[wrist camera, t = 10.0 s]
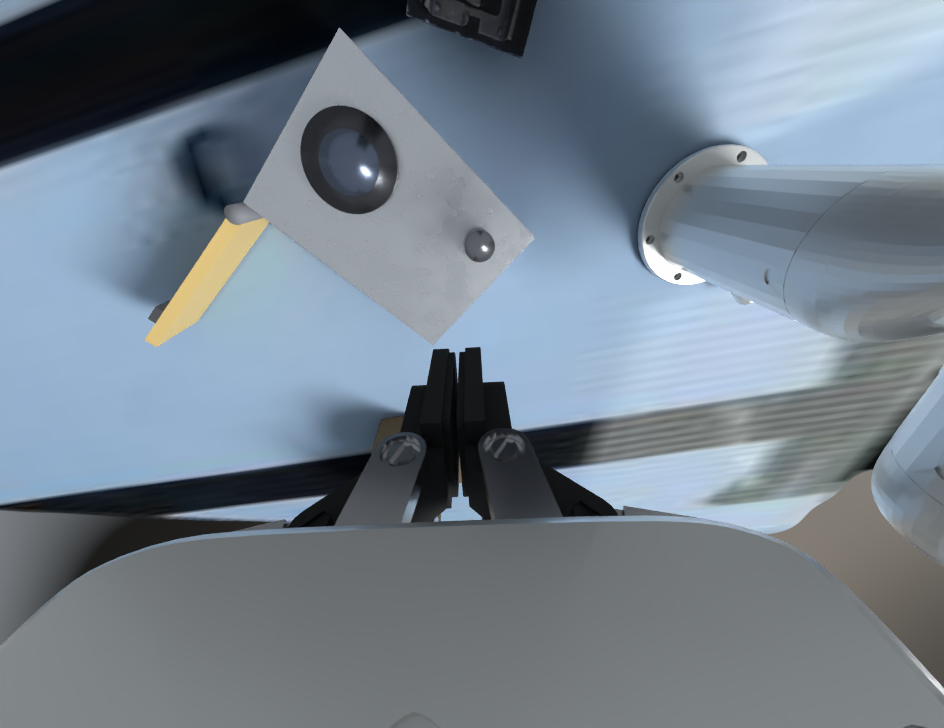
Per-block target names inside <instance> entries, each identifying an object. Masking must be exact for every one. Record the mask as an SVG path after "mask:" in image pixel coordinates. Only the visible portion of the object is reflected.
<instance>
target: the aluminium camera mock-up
mask: <svg viewBox="0 0 944 728" xmlns="http://www.w3.org/2000/svg"><path fill="white" fill-rule="evenodd" d="M243 203H245V204H246V205H247V206H249V207H250V208H251V209H253V210H254V211H255V212H257V213H258V214H259V215H261V216H262V217H263V218H265V219H266V220H267V221H269V222H270V223H271V224H273V225H274V226H275V227H277V228H278V229H279V230H281V231H282V232H283V233H285V234H286V235H287V236H289V237H290V238H291V239H293V240H294V241H295V242H297V243H298V244H299V245H301V246H302V247H303V248H305V249H306V250H307V251H309V252H310V253H311V254H313V255H314V256H315V257H317V258H318V259H319V260H321V261H322V262H323V263H325V264H326V265H327V266H328V267H330V268H331V269H332V270H334V271H335V272H336V273H338V274H339V275H340V276H342V277H343V278H344V279H346V280H347V281H348V282H350V283H351V284H352V285H354V286H355V287H356V288H358V289H359V290H360V291H362V292H363V293H364V294H366V295H367V296H368V297H370V298H371V299H372V300H374V301H375V302H376V303H378V304H379V305H380V306H382V307H383V308H384V309H386V310H387V311H388V312H390V313H391V314H392V315H394V316H395V317H396V318H398V319H399V320H400V321H402V322H403V323H404V324H406V325H407V326H408V327H410V328H411V329H412V330H414V331H415V332H416V333H418V334H419V335H420V336H422V337H423V338H424V339H426V340H427V341H428V342H430V343H431V344H432V345H434V343H435V342H436V341H437V340H438V339H439V338H440V337H441V336H442V335H443V334H444V333H445V332H446V331H447V330H448V329H449V328H450V327H451V326H452V325H453V324H454V322H455V321H456V320H457V319H458V318H459V317H460V316H461V315H462V314H463V313H464V312H465V311H466V310H467V309H468V308H469V307H470V306H471V305H472V304H473V302H474V301H475V300H476V299H477V298H478V297H479V296H480V295H481V294H482V293H483V292H484V291H485V290H486V289H487V288H488V287H489V286H490V285H491V284H492V283H493V281H494V280H495V279H496V278H497V277H498V276H499V275H500V274H501V273H502V272H503V271H504V270H505V269H506V268H507V267H508V266H509V265H510V264H511V263H512V261H513V260H514V259H515V258H516V257H517V256H518V255H519V254H520V253H521V252H522V251H523V250H524V249H525V248H526V247H527V246H528V245H529V244H530V243H531V242H532V240H533V239H534V238H535V236H534V235H533V234H532V233H531V232H530V231H529V230H528V229H527V228H526V227H525V226H524V225H523V224H522V223H521V221H520V220H519V219H518V218H517V217H516V216H515V215H514V214H513V213H512V212H511V211H510V210H509V209H508V208H507V206H506V205H505V204H504V203H503V202H502V201H501V200H500V199H499V198H498V197H497V196H496V195H495V194H494V193H493V191H492V190H491V189H490V188H489V187H488V186H487V185H486V184H485V183H484V182H483V181H482V180H481V179H480V178H479V176H478V175H477V174H476V173H475V172H474V171H473V170H472V169H471V168H470V167H469V166H468V165H467V164H466V163H465V162H464V160H463V159H462V158H461V157H460V156H459V155H458V154H457V153H456V152H455V151H454V150H453V149H452V148H451V147H450V145H449V144H448V143H447V142H446V141H445V140H444V139H443V138H442V137H441V136H440V135H439V134H438V133H437V132H436V130H435V129H434V128H433V127H432V126H431V125H430V124H429V123H428V122H427V121H426V120H425V119H424V118H423V117H422V115H421V114H420V113H419V112H418V111H417V110H416V109H415V108H414V107H413V106H412V105H411V104H410V103H409V102H408V100H407V99H406V98H405V97H404V96H403V95H402V94H401V93H400V92H399V91H398V90H397V89H396V88H395V87H394V85H393V84H392V83H391V82H390V81H389V80H388V79H387V78H386V77H385V76H384V75H383V74H382V73H381V72H380V70H379V69H378V68H377V67H376V66H375V65H374V64H373V63H372V62H371V61H370V60H369V59H368V58H367V57H366V55H365V54H364V53H363V52H362V51H361V50H360V49H359V48H358V47H357V46H356V45H355V44H354V43H353V42H352V40H351V39H350V38H349V37H348V36H347V35H346V34H345V33H344V32H343V31H342V30H341V29H340V28H339V29H338V31H337V33H336V34H335V36H334V38H333V40H332V42H331V43H330V45H329V47H328V49H327V51H326V53H325V54H324V56H323V58H322V60H321V62H320V63H319V65H318V67H317V69H316V71H315V73H314V74H313V76H312V78H311V80H310V82H309V83H308V85H307V87H306V89H305V91H304V93H303V94H302V96H301V98H300V100H299V102H298V103H297V105H296V107H295V109H294V111H293V113H292V114H291V116H290V118H289V120H288V122H287V123H286V125H285V127H284V129H283V131H282V133H281V134H280V136H279V138H278V140H277V142H276V143H275V145H274V147H273V149H272V151H271V153H270V154H269V156H268V158H267V160H266V162H265V163H264V165H263V167H262V169H261V171H260V173H259V174H258V176H257V178H256V180H255V182H254V183H253V185H252V187H251V189H250V191H249V193H248V194H247V196H246V198H245V200H244V202H243Z"/></svg>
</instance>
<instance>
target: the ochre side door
mask: <svg viewBox="0 0 944 728" xmlns="http://www.w3.org/2000/svg"><path fill="white" fill-rule="evenodd" d="M224 215H225V217H226V219H225V220H224V222H223V223H222V225H221V226H220V228H219V229H218V231H217V232H216V234H215V235H214V237H213V238H212V240H211V241H210V243H209V244H208V246H207V247H206V249H205V250H204V252H203V253H202V255H201V256H200V258H199V259H198V261H197V262H196V264H195V265H194V267H193V268H192V270H191V271H190V273H189V274H188V276H187V277H186V279H185V280H184V282H183V283H182V285H181V286H180V288H179V289H178V291H177V292H176V294H175V295H174V297H173V298H172V299H171V300H169V301H167V302H165V303H163V304H160V305H158V306H156V307H155V309H154V310H153V312H152V313H151V315H150V316H149V318H148V319H150V320H151V321H153V322H154V323H156V324H155V325H154V327H153V328H152V330H151V331H150V333H149V334H148V336H147V337H146V339H145V341H147V342H149V343H150V344H152V345H154V346H156V347H157V346H159V345H161V344H162V343H164V342H165V341H167V340H169V339H170V338H172V337H173V336H175V335H177V334H178V333H180V332H181V331H183V330H185V329H186V328H188V327H189V326H191V325H193V324H194V323H196V322H197V321H198V320H199V319H200V317H201V316H202V314H203V313H204V312H205V310H206V309H207V308H208V306H209V305H210V303H211V302H212V301H213V299H214V298H215V297H216V295H217V294H218V292H219V291H220V290H221V288H222V287H223V286H224V284H225V283H226V281H227V280H228V279H229V277H230V276H231V274H232V273H233V272H234V270H235V269H236V268H237V266H238V265H239V263H240V262H241V261H242V259H243V258H244V257H245V255H246V254H247V252H248V251H249V250H250V248H251V247H252V246H253V244H254V243H255V241H256V240H257V239H258V237H259V236H260V234H261V233H262V232H263V230H264V229H265V228H266V226H267V225H268V223H269V221H267V220H266V219H265V218H263V217H262V216H261V215H259V214H258V213H257V212H255V211H254V210H253V209H251V208H250V207H249V206H247V205H246V204H245V203H243V202H241V203H235V204H230V205H227V206H226V207H225V208H224Z"/></svg>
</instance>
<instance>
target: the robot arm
mask: <svg viewBox="0 0 944 728" xmlns="http://www.w3.org/2000/svg"><path fill="white" fill-rule="evenodd" d="M675 175H676V177H675ZM674 177H675V179H674ZM647 237H648V238H647ZM637 238H638V248H639V252H640V255H641V258H642V260H643V262H644V264H645V265H646V267H647V268H648V269H649V270H650V271H651V272H652V273H653V274H654V275H656V276H657V277H659V278H661V279H662V280H665V281H667V282H670V283H674V284H679V285H689V284H696V283H701V282H704V281H707V282H709V283H711V284H714V285H716V286H718V287H720V288H722V289H725V290H727V291H729V292H731V294H732V295H733V297H734V298H735V299H736V301H737V302H738V303H739V304H741V305H746V304H749V303H752V302H754V303H756V304H758V305H760V306H762V307H765V308H767V309H769V310H771V311H774V312H776V313H778V314H780V315H782V316H785V317H787V318H789V319H791V320H794V321H796V322H798V323H800V324H802V325H805V326H807V327H809V328H812V329H814V330H816V331H818V332H821V333H823V334H826V335H829V336H832V337H836V338H840V339H844V340H851V341H860V342H886V341H897V340H905V339H912V338H918V337H924V336H929V335H935V334H940V333H944V164H918V165H769V164H768V163H767V161H766V160H765V159H764V157H763V156H762V155H760V154H759V153H758V152H757V151H755V150H754V149H751V148H749V147H746V146H744V145H735V144H725V145H716V146H712V147H708V148H704V149H702V150H699V151H697V152H695V153H693V154H691V155H689V156H688V157H686V158H684V159H683V160H681V161H680V162H678V163H677V164H676V165H675V166H674V167H673V168H672V169H671V170H669V171H668V172H667V173H666V174H665V175H664V177H663V178H662V179H661V180H660V181H659V183H658V184H657V185H656V186H655V188H654V190H653V191H652V193H651V194H650V196H649V198H648V200H647V202H646V204H645V206H644V209H643V211H642V214H641V218H640V222H639V227H638V237H637ZM646 238H647V240H646ZM459 456H460V467H461V477H462V488H463V497H467V496H469V506H470V507H471V508H472V509H473V510H474V511H476V512H477V513H478V514H479V515H480V516H482V520H468V521H441V522H438V515H440V514H441V513H442V512H443V511H444V510H445V509H446V508H451V504H452V497H458V487H459ZM871 487H872V493H873V497H874V499H875V502H876V504H877V506H878V508H879V510H880V511H881V513H882V514H883V516H884V517H885V518H886V519H887V520H888V522H889V523H890V524H891V525H892V526H893V527H894V528H895V529H896V530H897V531H898V532H899V533H900V534H901V535H902V536H903V537H904V538H905V539H906V540H908V541H909V542H910V543H911V544H912V545H914V546H915V547H916V548H917V549H919V550H920V551H922V552H923V553H924V554H926V555H927V556H928V557H930V558H931V559H932V560H934V561H936V562H937V563H939V564H940V565H942V566H944V365H943V366H942V367H941V369H940V371H939V375H938V376H937V377H936V379H935V380H934V381H933V383H932V384H931V385H930V387H929V388H928V389H927V391H926V392H925V393H924V395H923V396H922V397H921V399H920V400H919V401H918V403H917V404H916V405H915V407H914V408H913V409H912V411H911V412H910V413H909V415H908V416H907V417H906V419H905V420H904V421H903V423H902V424H901V425H900V427H899V428H898V429H897V431H896V432H895V434H894V435H893V437H892V439H891V440H890V441H889V443H888V444H887V446H886V447H885V448H884V450H883V452H882V453H881V455H880V457H879V458H878V460H877V462H876V464H875V467H874V469H873V473H872V478H871ZM0 728H944V688H943V687H942V686H941V685H940V683H939V682H938V681H937V680H936V679H935V678H934V677H933V676H932V675H931V674H930V673H929V671H928V670H927V669H926V668H925V667H924V666H923V665H922V664H921V663H920V662H919V661H918V659H917V658H916V657H915V656H914V655H913V654H912V653H911V652H910V651H909V650H908V648H907V647H906V646H905V645H904V644H903V643H902V642H901V641H900V640H899V639H898V638H897V637H896V636H895V635H894V634H893V633H892V632H891V631H890V630H889V629H888V627H887V626H886V625H885V624H884V623H883V622H882V621H881V620H880V619H879V618H878V617H877V616H876V615H875V614H874V613H873V612H872V611H871V610H870V609H869V608H868V607H867V606H866V605H865V604H864V603H863V602H862V601H861V600H860V599H859V598H858V597H857V596H856V595H855V594H853V592H852V591H851V590H850V589H848V587H847V586H845V585H844V584H843V583H842V582H841V581H840V580H839V579H838V578H837V577H835V576H834V575H833V574H832V573H831V572H829V571H828V570H827V569H826V568H825V567H823V566H822V565H821V564H820V563H819V562H817V561H816V560H814V559H813V558H812V557H810V556H809V555H807V554H806V553H804V552H802V551H801V550H799V549H797V548H795V547H794V546H792V545H790V544H788V543H786V542H783V541H781V540H779V539H777V538H774V537H771V536H769V535H766V534H763V533H761V532H758V531H754V530H750V529H747V528H743V527H740V526H736V525H733V524H729V523H724V522H718V521H713V520H707V519H702V518H696V517H690V516H683V515H677V514H671V513H665V512H659V511H652V510H646V509H640V508H634V507H627V506H623V510H618V509H614V508H613V507H612V506H611V505H610V504H609V503H607V502H606V501H605V500H603V499H602V498H600V497H599V496H597V495H595V494H594V493H592V492H590V491H589V490H587V489H585V488H584V487H582V486H580V485H579V484H577V483H575V482H574V481H572V480H571V479H569V478H567V477H566V476H564V475H562V474H561V473H559V472H557V471H556V470H554V469H552V468H551V467H549V466H547V465H546V464H544V463H542V462H541V461H539V460H538V459H537V456H536V454H535V452H534V449H533V447H532V445H531V443H530V441H529V439H528V438H527V436H525V435H524V434H523V433H521V432H519V431H517V430H515V429H512V427H511V421H510V415H509V409H508V403H507V397H506V391H505V384H504V382H484V383H483V379H482V364H481V349H480V347H474V348H465V352H460V353H459V374H458V380H457V369H456V357H455V352H453V353H450V352H449V349H434V350H433V354H432V359H431V365H430V370H429V375H428V380H427V385H419V386H412V388H411V391H410V395H409V399H408V403H407V407H406V411H405V415H404V418H403V422H402V426H401V430H400V433H396V434H392V435H390V436H388V437H386V438H384V439H383V440H382V441H381V442H379V444H378V445H377V446H376V448H375V449H374V451H373V453H372V455H371V457H370V459H369V461H368V462H367V464H366V466H365V468H364V470H363V472H362V473H361V474H359V475H357V476H356V477H354V478H353V479H351V480H350V481H348V482H347V483H345V484H344V485H342V486H341V487H339V488H338V489H336V490H335V491H333V492H332V493H330V494H329V495H327V496H326V497H324V498H322V499H321V500H319V501H318V502H316V503H315V504H313V505H312V506H310V507H309V508H307V509H306V510H304V511H303V512H302V513H300V514H299V515H298V516H297V517H295V518H294V520H293V521H292V522H290V523H287V522H286V520H285V519H284V520H280V521H275V522H271V523H267V524H263V525H259V526H255V527H250V528H246V529H242V530H238V531H234V532H225V533H215V534H205V535H199V536H193V537H187V538H181V539H177V540H173V541H169V542H165V543H161V544H156V545H152V546H149V547H146V548H143V549H141V550H138V551H135V552H132V553H129V554H126V555H124V556H121V557H119V558H116V559H114V560H112V561H109V562H107V563H105V564H103V565H101V566H99V567H97V568H95V569H93V570H91V571H89V572H87V573H86V574H84V575H82V576H81V577H79V578H78V579H76V580H75V581H73V582H72V583H70V584H69V585H68V586H67V587H65V588H64V589H63V590H61V591H60V592H59V593H58V594H57V595H55V596H54V597H53V598H52V599H50V600H49V601H48V602H47V603H46V604H45V605H43V606H42V607H41V608H40V609H39V610H38V611H37V612H36V613H34V614H33V615H32V616H31V617H30V618H29V619H28V620H27V621H26V622H25V623H24V624H23V625H22V626H21V627H20V628H19V629H17V631H15V632H14V633H13V634H12V635H11V636H10V637H9V638H8V639H7V640H6V641H5V642H4V643H3V644H2V645H1V646H0Z"/></svg>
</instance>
